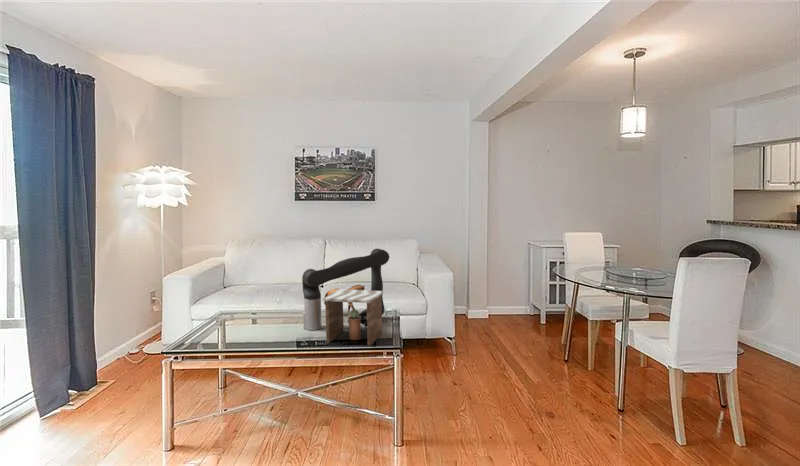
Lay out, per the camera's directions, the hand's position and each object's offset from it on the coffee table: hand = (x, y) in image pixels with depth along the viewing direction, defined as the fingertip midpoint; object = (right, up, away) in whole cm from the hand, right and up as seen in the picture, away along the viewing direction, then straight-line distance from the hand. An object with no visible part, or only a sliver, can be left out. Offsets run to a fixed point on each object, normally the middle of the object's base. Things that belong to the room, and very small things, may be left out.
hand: (357, 324), depth 254 cm
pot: (-1, -7, -4) cm, 8 cm away
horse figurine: (-12, -3, +40) cm, 42 cm away
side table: (-1, -6, -4) cm, 8 cm away
